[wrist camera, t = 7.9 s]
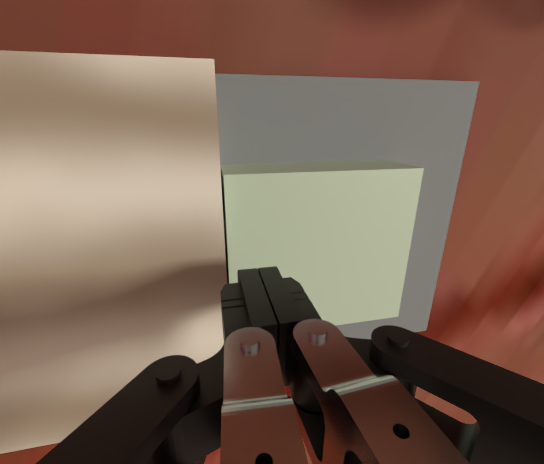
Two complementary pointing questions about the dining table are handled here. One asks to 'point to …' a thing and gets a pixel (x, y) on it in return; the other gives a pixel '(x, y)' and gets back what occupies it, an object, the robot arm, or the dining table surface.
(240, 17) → the dining table surface
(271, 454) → the robot arm
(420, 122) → the slate mat
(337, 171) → the green tile
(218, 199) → the block
